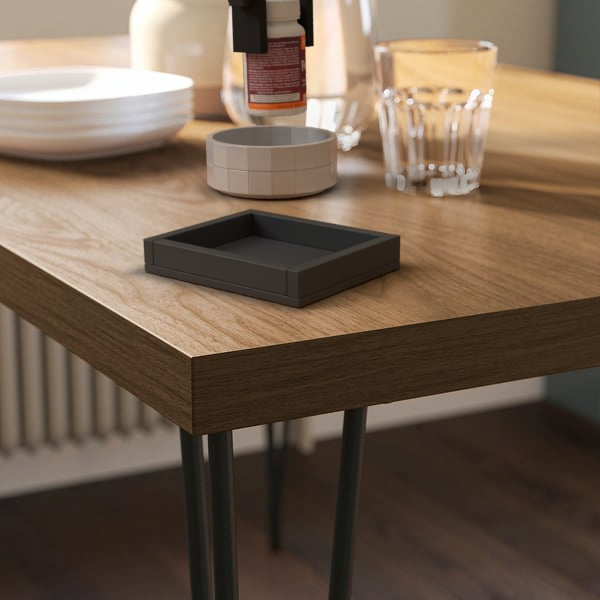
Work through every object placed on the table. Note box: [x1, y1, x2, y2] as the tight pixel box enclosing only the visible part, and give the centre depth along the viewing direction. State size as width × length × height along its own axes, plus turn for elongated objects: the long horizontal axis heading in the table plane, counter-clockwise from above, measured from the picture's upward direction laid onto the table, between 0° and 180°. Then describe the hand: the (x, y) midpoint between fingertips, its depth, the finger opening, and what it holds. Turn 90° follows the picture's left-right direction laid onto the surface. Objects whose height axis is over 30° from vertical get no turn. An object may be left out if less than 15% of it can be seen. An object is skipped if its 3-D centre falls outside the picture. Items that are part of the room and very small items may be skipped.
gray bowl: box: [205, 124, 338, 200], centre depth 91 cm, size 10×10×4 cm
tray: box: [142, 208, 401, 308], centre depth 69 cm, size 12×10×2 cm
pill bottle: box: [242, 0, 308, 118], centre depth 89 cm, size 5×5×8 cm
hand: (274, 48), depth 88 cm, fingers closed on pill bottle, 5 cm apart
